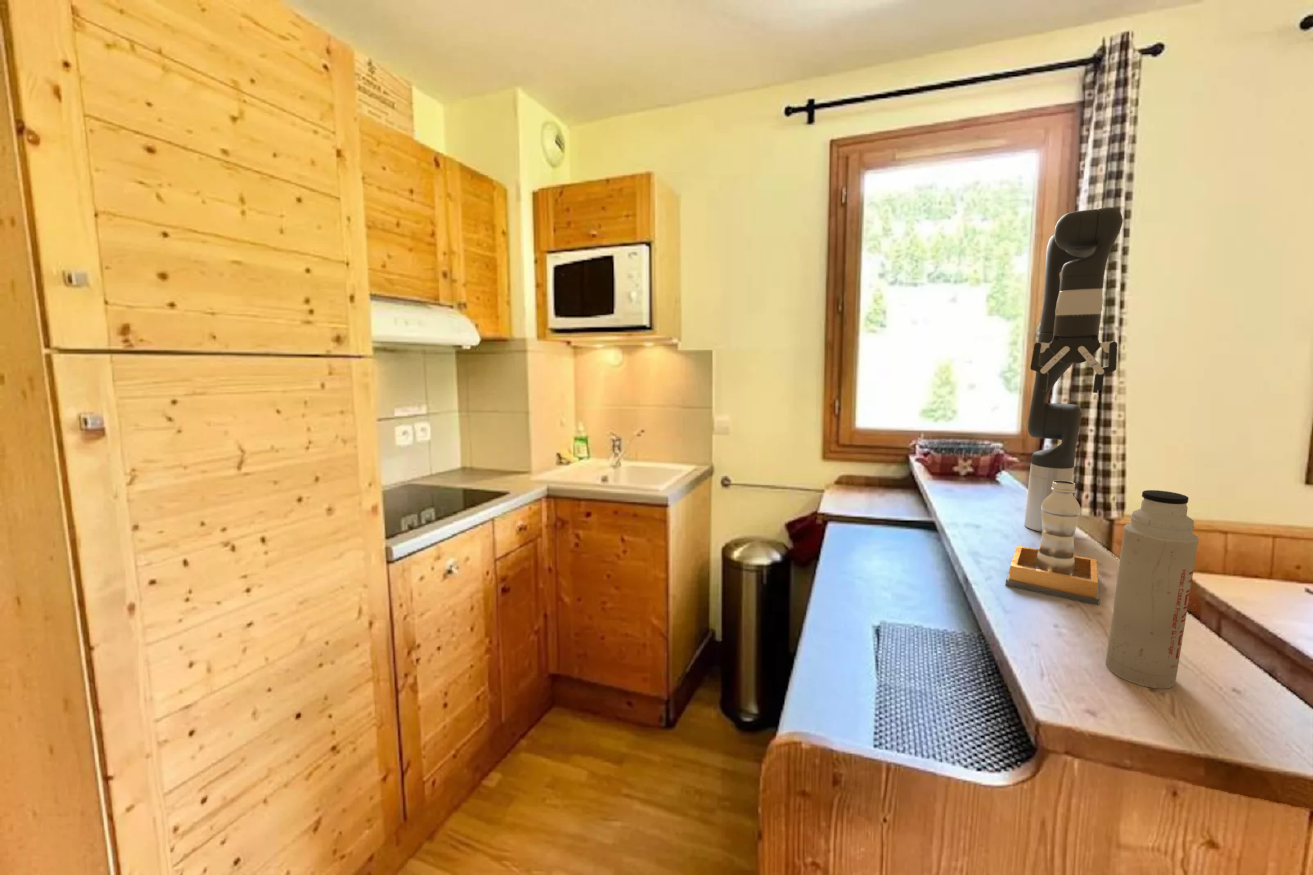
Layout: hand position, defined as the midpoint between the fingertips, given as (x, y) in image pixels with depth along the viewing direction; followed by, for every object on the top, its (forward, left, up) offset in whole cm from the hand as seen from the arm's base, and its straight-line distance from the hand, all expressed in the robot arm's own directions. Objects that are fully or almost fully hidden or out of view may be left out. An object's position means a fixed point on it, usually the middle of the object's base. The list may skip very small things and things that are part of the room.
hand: (1069, 391), depth 116 cm
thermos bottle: (+41, +13, -39) cm, 58 cm away
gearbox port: (+10, +1, -39) cm, 40 cm away
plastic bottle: (+9, +1, -38) cm, 39 cm away
